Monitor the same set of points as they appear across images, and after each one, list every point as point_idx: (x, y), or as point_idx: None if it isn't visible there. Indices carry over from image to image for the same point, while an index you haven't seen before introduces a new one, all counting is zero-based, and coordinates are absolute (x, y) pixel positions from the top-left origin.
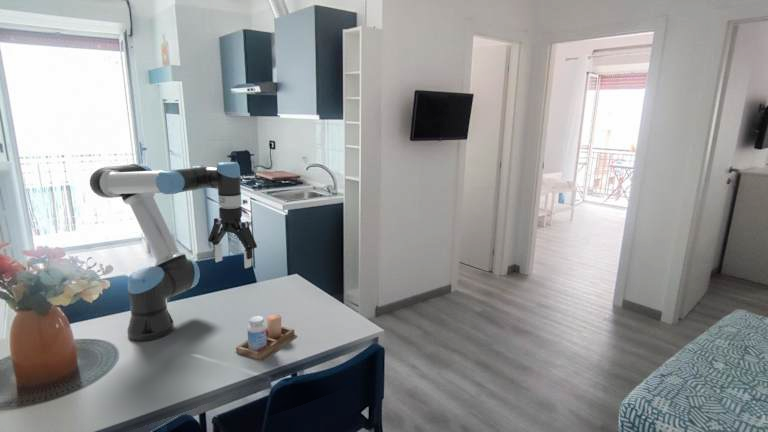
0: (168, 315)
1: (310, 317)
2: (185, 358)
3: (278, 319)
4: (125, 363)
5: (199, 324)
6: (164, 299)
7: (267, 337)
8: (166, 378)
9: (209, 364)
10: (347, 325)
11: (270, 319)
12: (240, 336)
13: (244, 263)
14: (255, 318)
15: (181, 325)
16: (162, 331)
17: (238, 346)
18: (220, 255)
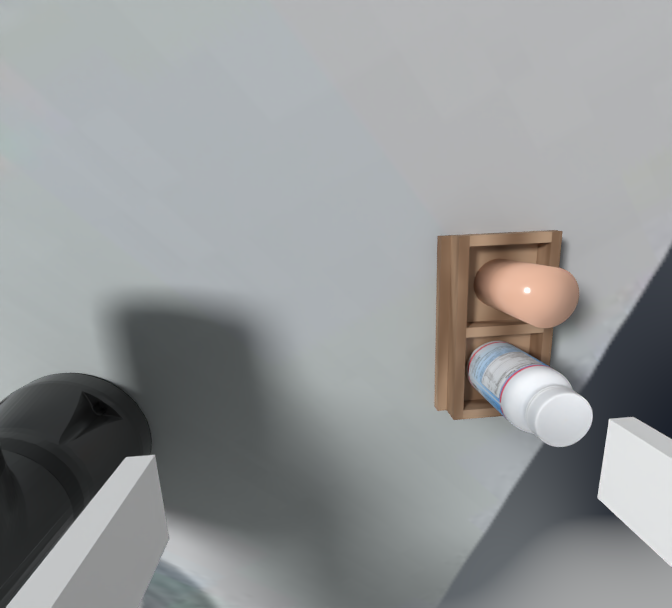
0: (88, 436)
1: (517, 52)
2: (325, 481)
3: (576, 303)
4: (208, 566)
5: (170, 324)
6: (30, 504)
7: (474, 294)
8: (361, 552)
9: (407, 469)
10: None
11: (547, 321)
12: (371, 317)
13: (650, 545)
14: (558, 420)
15: (122, 361)
16: (142, 454)
17: (456, 412)
18: (117, 548)
